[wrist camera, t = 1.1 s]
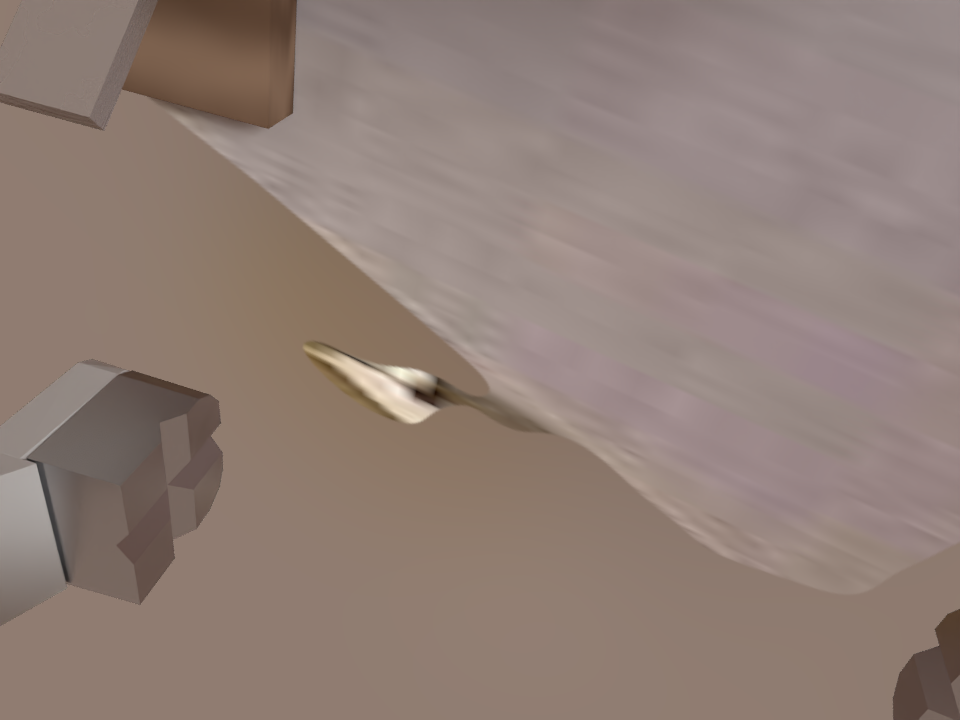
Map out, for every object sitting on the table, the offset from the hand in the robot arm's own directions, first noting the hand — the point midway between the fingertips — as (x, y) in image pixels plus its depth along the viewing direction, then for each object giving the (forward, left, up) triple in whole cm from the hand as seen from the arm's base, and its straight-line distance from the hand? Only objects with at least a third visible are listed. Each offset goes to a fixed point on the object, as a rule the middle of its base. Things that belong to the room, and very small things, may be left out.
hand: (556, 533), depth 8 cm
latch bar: (+4, -24, -27) cm, 36 cm away
